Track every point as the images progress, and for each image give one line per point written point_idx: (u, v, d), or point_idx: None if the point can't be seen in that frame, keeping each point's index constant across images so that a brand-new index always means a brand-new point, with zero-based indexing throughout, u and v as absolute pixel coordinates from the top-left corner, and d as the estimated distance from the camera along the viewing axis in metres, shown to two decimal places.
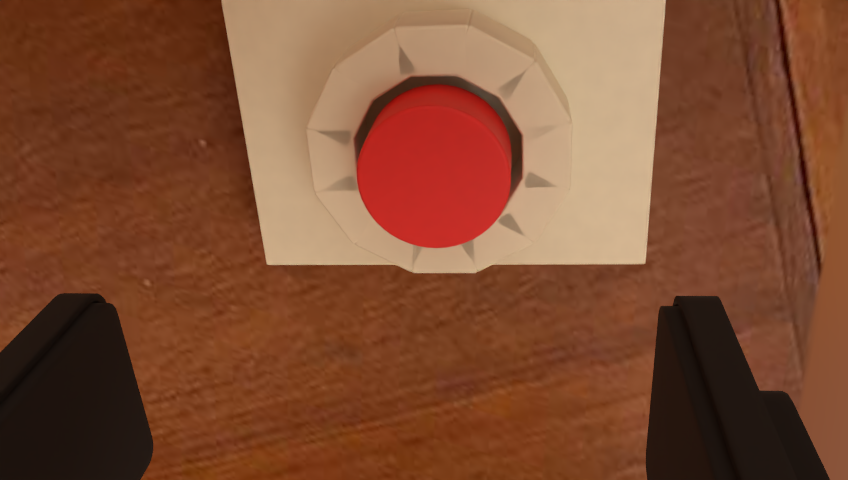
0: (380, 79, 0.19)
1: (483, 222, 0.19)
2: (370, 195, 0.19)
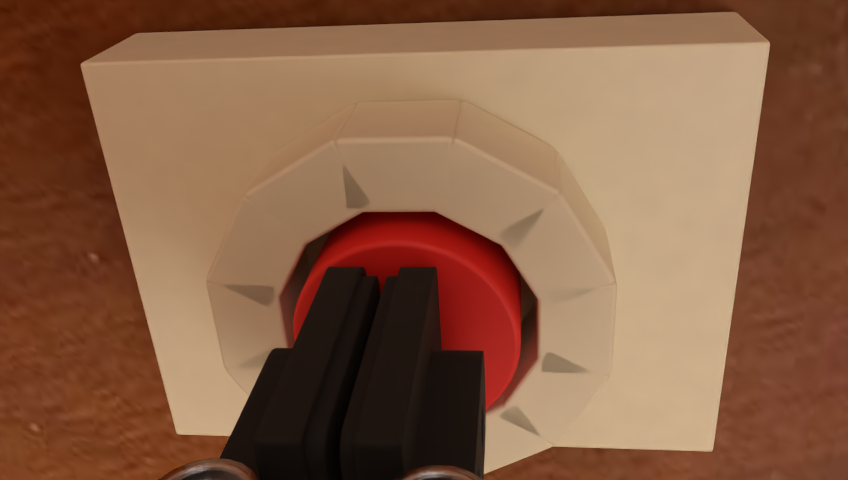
0: (316, 215, 0.12)
1: None
2: None
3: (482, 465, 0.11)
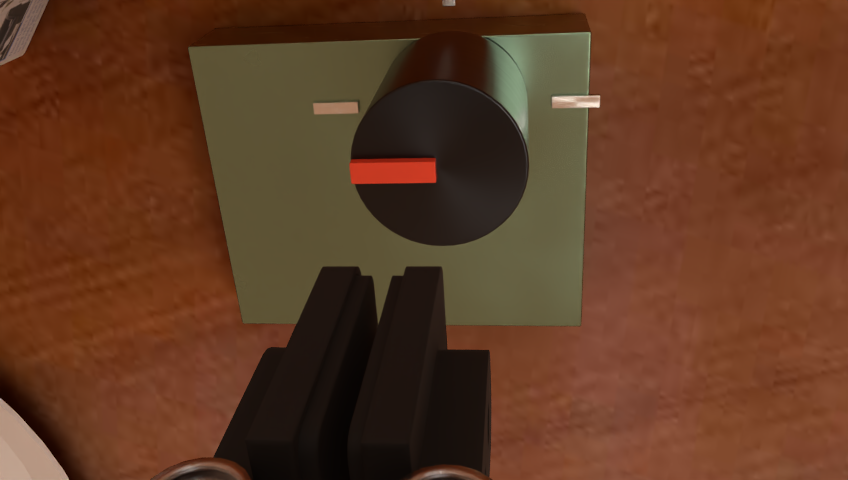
0: None
1: None
2: None
3: (488, 465, 0.11)
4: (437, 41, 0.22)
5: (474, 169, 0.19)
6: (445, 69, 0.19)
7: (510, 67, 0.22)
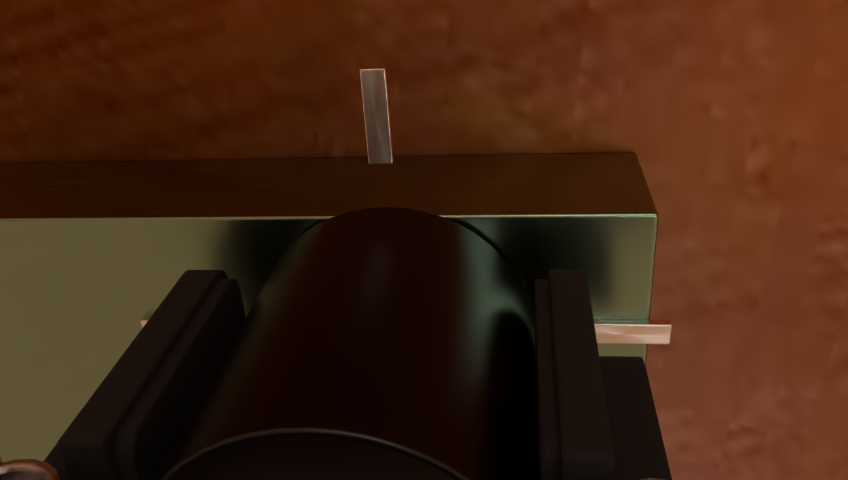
0: None
1: None
2: None
3: None
4: (353, 244, 0.11)
5: None
6: (346, 373, 0.08)
7: (500, 291, 0.11)
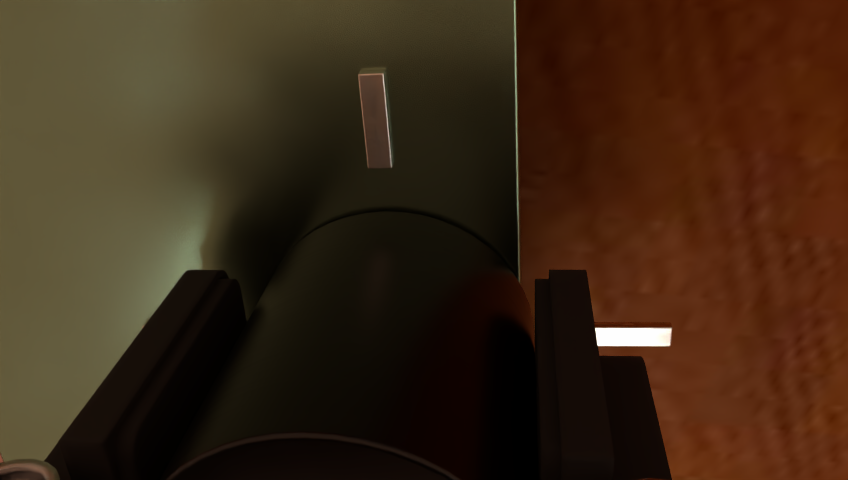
0: None
1: None
2: None
3: None
4: (351, 249, 0.11)
5: None
6: (344, 377, 0.08)
7: (499, 293, 0.11)
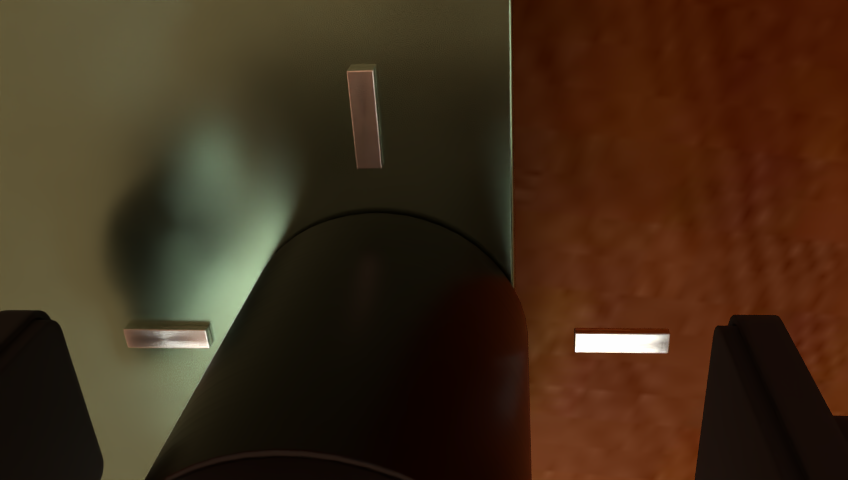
0: None
1: None
2: None
3: None
4: (331, 254, 0.10)
5: None
6: (317, 390, 0.08)
7: (487, 294, 0.11)
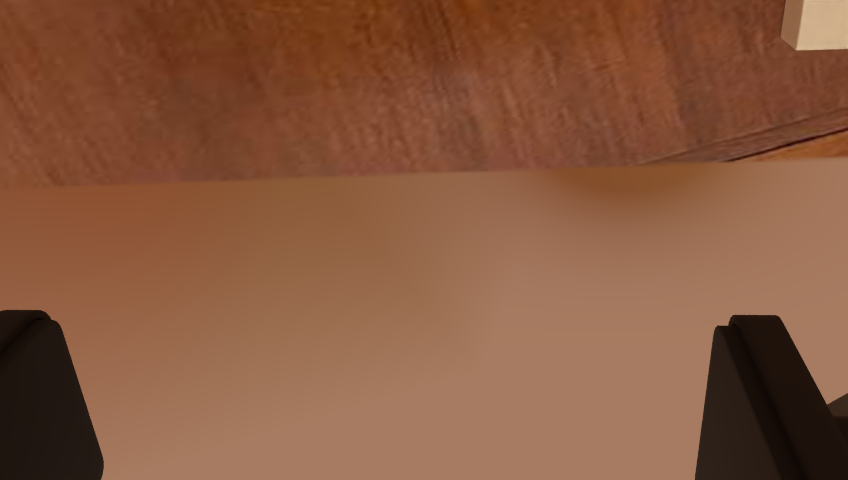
0: None
1: None
2: None
3: None
4: None
5: None
6: None
7: None
